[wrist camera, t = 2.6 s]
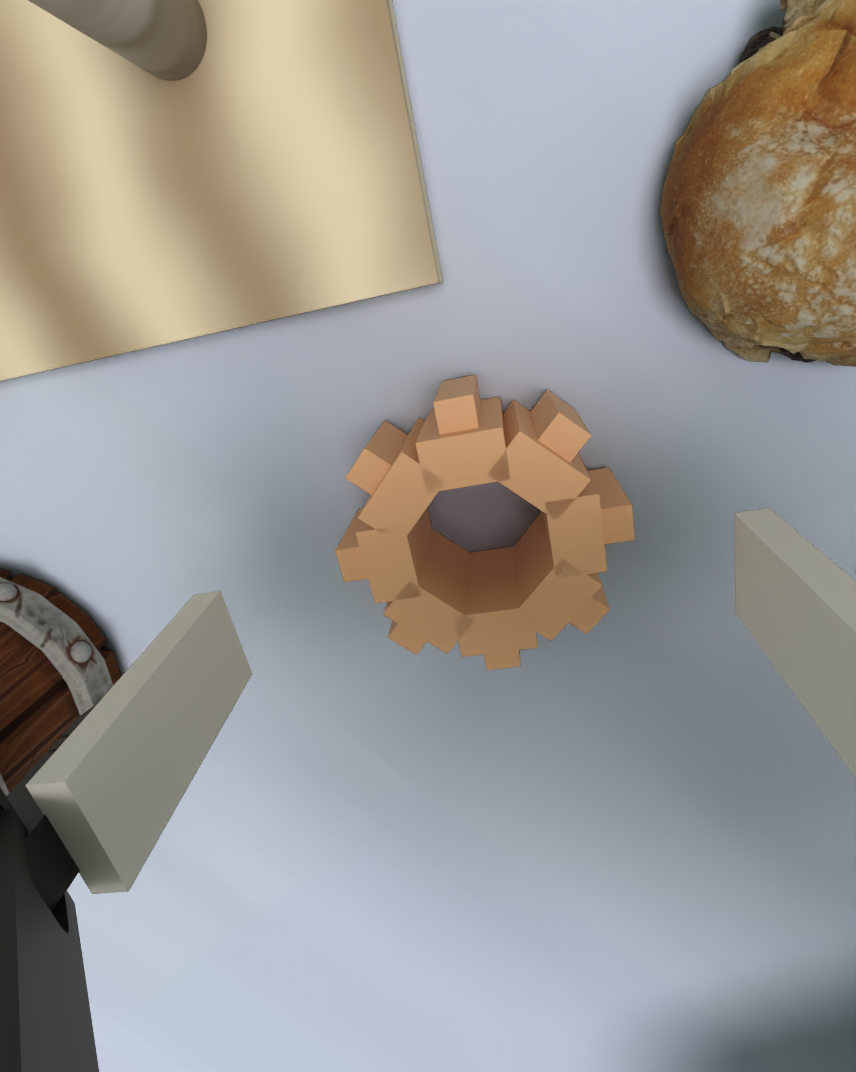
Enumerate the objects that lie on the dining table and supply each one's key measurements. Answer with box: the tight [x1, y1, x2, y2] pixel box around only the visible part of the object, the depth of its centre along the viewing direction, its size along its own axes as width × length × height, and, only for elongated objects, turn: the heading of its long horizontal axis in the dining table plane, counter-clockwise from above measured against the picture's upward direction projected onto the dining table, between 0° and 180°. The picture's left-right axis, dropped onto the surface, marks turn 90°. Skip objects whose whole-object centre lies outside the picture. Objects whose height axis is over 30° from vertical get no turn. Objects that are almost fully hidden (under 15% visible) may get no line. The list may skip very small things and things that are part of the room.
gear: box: [335, 375, 635, 670], centre depth 21 cm, size 10×10×5 cm
